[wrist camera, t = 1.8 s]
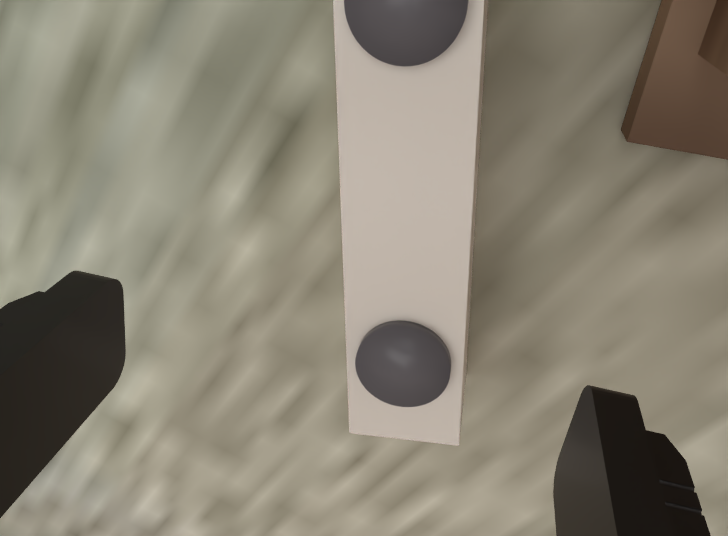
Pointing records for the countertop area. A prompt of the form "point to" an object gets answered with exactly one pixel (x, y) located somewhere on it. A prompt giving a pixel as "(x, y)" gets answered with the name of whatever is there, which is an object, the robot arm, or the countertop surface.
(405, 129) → the frame bar
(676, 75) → the stand
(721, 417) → the countertop surface
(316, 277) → the countertop surface
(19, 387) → the robot arm
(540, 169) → the countertop surface
